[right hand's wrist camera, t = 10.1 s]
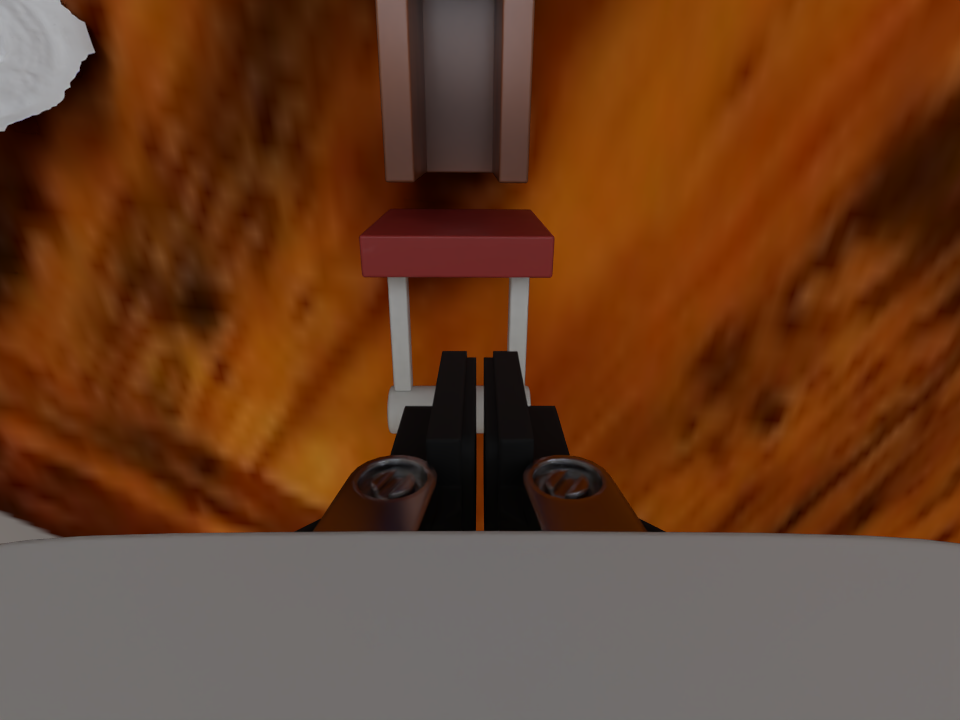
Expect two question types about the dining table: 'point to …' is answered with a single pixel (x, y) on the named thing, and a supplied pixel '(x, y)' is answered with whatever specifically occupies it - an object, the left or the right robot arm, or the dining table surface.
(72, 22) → the seashell
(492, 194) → the dining table surface
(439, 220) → the drawer
